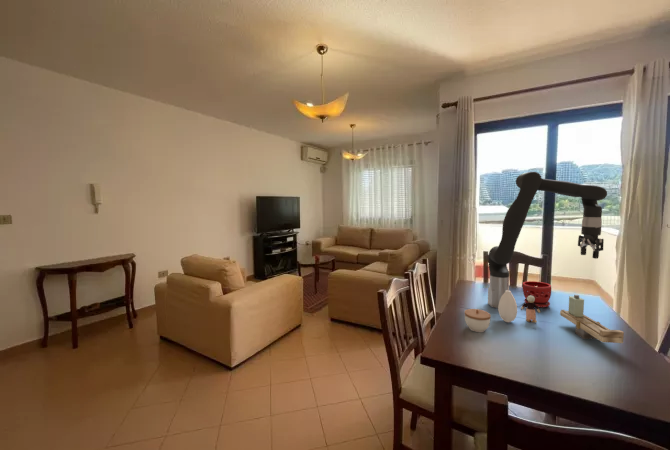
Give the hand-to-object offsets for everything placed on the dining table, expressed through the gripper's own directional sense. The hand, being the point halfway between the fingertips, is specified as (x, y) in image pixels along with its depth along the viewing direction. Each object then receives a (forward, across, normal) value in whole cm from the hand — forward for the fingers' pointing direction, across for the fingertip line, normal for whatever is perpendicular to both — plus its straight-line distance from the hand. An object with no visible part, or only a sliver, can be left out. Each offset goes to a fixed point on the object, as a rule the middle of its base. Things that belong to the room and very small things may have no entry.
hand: (589, 256), depth 147 cm
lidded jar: (+30, +29, -64) cm, 76 cm away
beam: (+29, +32, -20) cm, 47 cm away
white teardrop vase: (+29, +19, -46) cm, 58 cm away
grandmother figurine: (+29, +18, -35) cm, 49 cm away
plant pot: (+29, -5, -21) cm, 36 cm away
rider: (+23, +24, -20) cm, 38 cm away
